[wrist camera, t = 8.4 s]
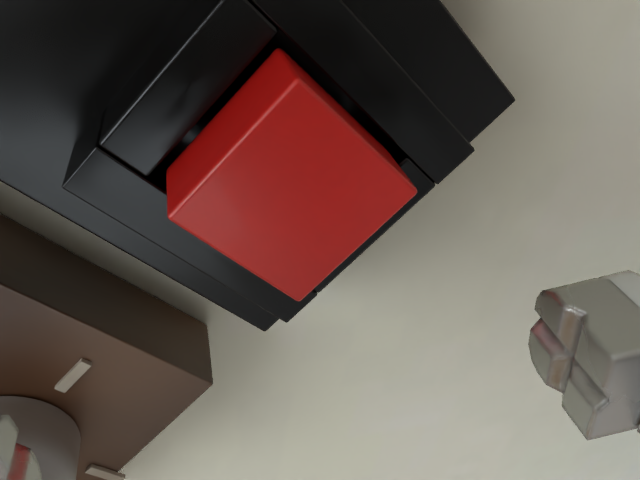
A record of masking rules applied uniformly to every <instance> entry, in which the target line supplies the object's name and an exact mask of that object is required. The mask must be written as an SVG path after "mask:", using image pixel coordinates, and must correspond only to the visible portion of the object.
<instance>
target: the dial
mask: <svg viewBox="0 0 640 480" xmlns="http://www.w3.org/2000/svg"><path fill="white" fill-rule="evenodd" d="M0 415H9V416H10V417H11V419H12V420H13V422H14V423H15V425H16V426H17V427H18V429H19V431H18V435H17V440H16V443H18V444H21V445H23V446H26V447H28V448H31V450H32V451H33V453H34V455H35V456H36V458H37V460H38V463H39V467H40V470H41V473H42V480H76V475H77V467H78V460H79V452H80V445H81V436H80V432H79V429H78V427H77V425H76V423H75V422H74V421H73V419H72V418H71V417H70V416H69V415H68V414H66V413H65V412H64V411H62V410H61V409H59V408H57V407H55V406H53V405H51V404H49V403H46V402H43V401H40V400H36V399H32V398H26V397H18V396H0Z"/></svg>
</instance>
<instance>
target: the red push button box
mask: <svg viewBox="0 0 640 480" xmlns="http://www.w3.org/2000/svg"><path fill="white" fill-rule="evenodd" d="M277 48H281V49H283V50H284V51H285V52H286V53H287V54H288V55H289V56H290V57H291V58H292V59H293V60H294V61H295V62H296V63H297V64H298V65H299V66H300V67H302V68H303V69H304V70H305V71H306V72H307V73H308V74H309V75H310V76H311V77H312V78H313V79H314V80H315V81H316V82H317V83H318V84H319V85H320V86H321V87H322V88H323V89H324V90H325V91H326V92H327V93H328V94H329V95H331V96H332V97H333V98H334V99H335V100H336V101H337V102H338V103H339V104H340V105H341V106H342V107H343V108H344V109H345V110H346V111H347V112H348V113H349V114H350V115H351V116H352V117H353V118H354V119H355V120H356V121H357V122H358V123H360V124H361V125H362V126H363V127H364V128H365V129H366V130H367V131H368V132H369V133H370V134H371V135H372V136H373V137H374V138H375V139H376V140H377V141H378V142H379V143H380V144H381V145H382V146H383V147H384V148H385V149H386V150H387V151H388V152H389V153H390V155H391V156H392V157H393V159H394V160H395V161H396V162H397V164H398V165H399V166H400V168H401V169H402V170H403V171H404V173H405V174H406V175H407V177H408V178H409V179H410V181H411V182H412V183H413V184H414V186H415V187H416V189H417V193H416V195H415V196H414V197H413V198H412V199H411V200H409V201H408V202H407V203H406V204H405V205H404V206H403V207H402V208H401V209H400V210H399V211H398V212H396V213H395V214H394V215H393V216H392V217H391V218H390V219H389V220H388V221H387V222H386V223H385V224H383V225H382V226H381V227H380V228H379V229H378V230H377V231H376V232H375V233H374V234H373V235H372V236H370V237H369V238H368V239H367V240H366V241H365V242H364V243H363V244H362V245H361V246H360V247H359V248H357V249H356V250H355V251H354V252H353V253H352V254H351V255H350V256H349V257H348V258H347V259H346V260H344V261H343V262H342V263H341V264H340V265H339V266H338V267H337V268H336V269H335V270H334V271H332V272H331V273H330V274H329V275H328V276H327V277H326V278H325V279H324V280H323V281H322V282H321V283H319V284H318V285H317V286H316V287H315V288H314V289H313V290H312V291H311V292H310V293H309V294H308V295H306V296H305V297H304V298H303V299H302V300H301V301H296V300H294V299H293V298H291V297H290V296H288V295H286V294H285V293H283V292H282V291H280V290H279V289H277V288H275V287H274V286H272V285H271V284H269V283H268V282H266V281H265V280H263V279H261V278H260V277H258V276H257V275H255V274H254V273H252V272H250V271H249V270H247V269H246V268H244V267H243V266H241V265H239V264H238V263H236V262H235V261H233V260H232V259H230V258H228V257H227V256H225V255H224V254H222V253H221V252H219V251H218V250H216V249H214V248H213V247H211V246H210V245H208V244H207V243H205V242H203V241H202V240H200V239H199V238H197V237H196V236H194V235H192V234H191V233H189V232H188V231H186V230H185V229H183V228H181V227H180V226H178V225H177V224H175V223H174V222H172V221H170V220H169V218H168V217H167V184H166V171H167V169H168V167H169V166H170V165H171V164H172V163H173V162H174V161H175V160H176V159H177V157H178V156H179V155H180V154H181V153H182V152H183V151H184V150H185V149H186V148H187V146H188V145H189V144H190V143H191V142H192V141H193V140H194V139H195V138H196V136H197V135H198V134H199V133H200V132H201V131H202V130H203V129H204V128H205V127H206V125H207V124H208V123H209V122H210V121H211V120H212V119H213V118H214V117H215V115H216V114H217V113H218V112H219V111H220V110H221V109H222V108H223V107H224V106H225V104H226V103H227V102H228V101H229V100H230V99H231V98H232V97H233V96H234V94H235V93H236V92H237V91H238V90H239V89H240V88H241V87H242V86H243V84H244V83H245V82H246V81H247V80H248V79H249V78H250V77H251V76H252V75H253V73H254V72H255V71H256V70H257V69H258V68H259V67H260V66H261V65H262V63H263V62H264V61H265V60H266V59H267V58H268V57H269V56H270V55H271V54H272V52H273V51H274V50H275V49H277ZM514 101H515V98H514V97H513V95H512V94H511V93H510V91H509V90H508V89H507V87H506V86H505V85H504V83H503V82H502V81H501V80H500V78H499V77H498V76H497V74H496V73H495V72H494V70H493V69H492V68H491V66H490V65H489V64H488V62H487V61H486V60H485V59H484V57H483V56H482V55H481V53H480V52H479V51H478V49H477V48H476V47H475V45H474V44H473V43H472V42H471V40H470V39H469V38H468V36H467V35H466V34H465V32H464V31H463V30H462V28H461V27H460V26H459V24H458V23H457V22H456V21H455V19H454V18H453V17H452V15H451V14H450V13H449V11H448V10H447V9H446V7H445V6H444V5H443V4H442V2H441V1H440V0H0V181H2V182H3V183H5V184H7V185H9V186H10V187H12V188H14V189H16V190H17V191H19V192H21V193H23V194H24V195H26V196H28V197H30V198H31V199H33V200H35V201H37V202H38V203H40V204H42V205H44V206H46V207H47V208H49V209H51V210H53V211H54V212H56V213H58V214H60V215H61V216H63V217H65V218H67V219H68V220H70V221H72V222H74V223H75V224H77V225H79V226H81V227H82V228H84V229H86V230H88V231H89V232H91V233H93V234H95V235H96V236H98V237H100V238H102V239H103V240H105V241H107V242H109V243H110V244H112V245H114V246H116V247H117V248H119V249H121V250H123V251H124V252H126V253H128V254H130V255H131V256H133V257H135V258H137V259H138V260H140V261H142V262H144V263H145V264H147V265H149V266H151V267H152V268H154V269H156V270H158V271H159V272H161V273H163V274H165V275H166V276H168V277H170V278H172V279H173V280H175V281H177V282H179V283H180V284H182V285H184V286H186V287H187V288H189V289H191V290H193V291H194V292H196V293H198V294H200V295H201V296H203V297H205V298H207V299H208V300H210V301H212V302H214V303H215V304H217V305H219V306H221V307H222V308H224V309H226V310H228V311H229V312H231V313H233V314H235V315H236V316H238V317H240V318H242V319H243V320H245V321H247V322H249V323H250V324H252V325H254V326H256V327H257V328H259V329H261V330H263V331H266V330H268V329H269V328H270V327H271V326H272V325H273V324H274V323H275V322H276V321H277V320H278V319H279V318H280V319H281V320H283V321H285V322H288V321H289V320H290V319H291V318H293V317H294V316H295V315H296V314H297V313H298V312H299V311H300V310H301V309H302V308H303V307H305V306H306V305H307V304H308V303H309V302H310V301H311V300H312V299H313V298H314V297H315V296H317V292H320V291H321V290H322V289H323V288H325V287H326V286H327V285H328V284H329V283H330V282H331V281H332V280H333V279H334V278H335V277H337V276H338V275H339V274H340V273H341V272H342V271H343V270H344V269H345V268H346V267H347V266H349V265H350V264H351V263H352V262H353V261H354V260H355V259H356V258H357V257H358V256H359V255H361V254H362V253H363V252H364V251H365V250H366V249H367V248H368V247H369V246H370V245H371V244H373V243H374V242H375V241H376V240H377V239H378V238H379V237H380V236H381V235H382V234H383V233H385V232H386V231H387V230H388V229H389V228H390V227H391V226H392V225H393V224H394V223H395V222H397V221H398V220H399V219H400V218H401V217H402V216H403V215H404V214H405V213H406V212H407V211H409V210H410V209H411V208H412V207H413V206H414V205H415V204H416V203H417V202H418V201H419V200H420V199H422V198H423V197H424V196H425V195H426V194H427V193H428V192H429V191H430V190H431V189H432V188H434V186H435V183H436V184H439V183H440V182H441V181H442V180H443V179H444V178H445V177H446V176H447V175H449V174H450V173H451V172H452V171H453V170H454V169H455V168H456V167H457V166H458V165H459V164H461V163H462V162H463V161H464V160H465V159H466V158H467V157H468V156H469V155H470V154H471V153H473V152H474V148H473V147H472V146H471V144H470V142H471V141H472V140H473V139H474V138H475V137H476V136H478V135H479V134H480V133H481V132H482V131H483V130H484V129H485V128H486V127H487V126H488V125H489V124H491V123H492V122H493V121H494V120H495V119H496V118H497V117H498V116H499V115H500V114H501V113H502V112H504V111H505V110H506V109H507V108H508V107H509V106H510V105H511V104H512V103H513V102H514ZM434 182H435V183H434Z"/></svg>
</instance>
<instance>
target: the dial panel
mask: <svg viewBox="0 0 640 480" xmlns="http://www.w3.org/2000/svg"><path fill="white" fill-rule="evenodd" d="M212 384H213V378H212V369H211V359H210V349H209V340H208V330H207V325H206V324H204V323H202V322H200V321H198V320H196V319H195V318H193V317H191V316H189V315H187V314H185V313H183V312H182V311H180V310H178V309H176V308H174V307H172V306H170V305H169V304H167V303H165V302H163V301H161V300H159V299H157V298H156V297H154V296H152V295H150V294H148V293H146V292H144V291H143V290H141V289H139V288H137V287H135V286H133V285H131V284H130V283H128V282H126V281H124V280H122V279H120V278H118V277H117V276H115V275H113V274H111V273H109V272H107V271H105V270H104V269H102V268H100V267H98V266H96V265H94V264H92V263H91V262H89V261H87V260H85V259H83V258H81V257H79V256H78V255H76V254H74V253H72V252H70V251H68V250H66V249H65V248H63V247H61V246H59V245H57V244H55V243H53V242H52V241H50V240H48V239H46V238H44V237H42V236H40V235H39V234H37V233H35V232H33V231H31V230H29V229H27V228H26V227H24V226H22V225H20V224H18V223H16V222H14V221H13V220H11V219H9V218H7V217H5V216H3V215H1V214H0V396H18V397H26V398H32V399H36V400H40V401H43V402H46V403H49V404H51V405H53V406H55V407H57V408H59V409H61V410H62V411H64V412H65V413H66V414H68V415H69V416H70V417H71V418H72V419H73V421H74V422H75V423H76V425H77V427H78V429H79V432H80V436H81V445H80V452H79V460H78V467H77V475H76V480H124V479H125V474H122V473H119V472H118V471H119V470H120V469H121V468H122V467H123V466H124V465H126V464H127V463H128V462H129V461H130V460H131V459H132V458H133V457H134V456H135V455H136V454H137V453H139V452H140V451H141V450H142V449H143V448H144V447H145V446H146V445H147V444H148V443H149V442H151V441H152V440H153V439H154V438H155V437H156V436H157V435H158V434H159V433H160V432H161V431H162V430H164V429H165V428H166V427H167V426H168V425H169V424H170V423H171V422H172V421H173V420H174V419H175V418H177V417H178V416H179V415H180V414H181V413H182V412H183V411H184V410H185V409H186V408H187V407H189V406H190V405H191V404H192V403H193V402H194V401H195V400H196V399H197V398H198V397H199V396H200V395H202V394H203V393H204V392H205V391H206V390H207V389H208V388H209V387H210V386H211V385H212Z"/></svg>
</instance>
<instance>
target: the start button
mask: <svg viewBox="0 0 640 480" xmlns="http://www.w3.org/2000/svg"><path fill="white" fill-rule="evenodd" d="M166 184H167V217H168V218H169V220H170V221H172V222H174V223H175V224H177V225H178V226H180V227H181V228H183V229H185V230H186V231H188V232H189V233H191V234H192V235H194V236H196V237H197V238H199V239H200V240H202V241H203V242H205V243H207V244H208V245H210V246H211V247H213V248H214V249H216V250H218V251H219V252H221V253H222V254H224V255H225V256H227V257H228V258H230V259H232V260H233V261H235V262H236V263H238V264H239V265H241V266H243V267H244V268H246V269H247V270H249V271H250V272H252V273H254V274H255V275H257V276H258V277H260V278H261V279H263V280H265V281H266V282H268V283H269V284H271V285H272V286H274V287H275V288H277V289H279V290H280V291H282V292H283V293H285V294H286V295H288V296H290V297H291V298H293V299H294V300H296V301H301V300H302V299H303V298H304V297H305V296H306V295H308V294H309V293H310V292H311V291H312V290H313V289H314V288H315V287H316V286H317V285H318V284H319V283H321V282H322V281H323V280H324V279H325V278H326V277H327V276H328V275H329V274H330V273H331V272H332V271H334V270H335V269H336V268H337V267H338V266H339V265H340V264H341V263H342V262H343V261H344V260H346V259H347V258H348V257H349V256H350V255H351V254H352V253H353V252H354V251H355V250H356V249H357V248H359V247H360V246H361V245H362V244H363V243H364V242H365V241H366V240H367V239H368V238H369V237H370V236H372V235H373V234H374V233H375V232H376V231H377V230H378V229H379V228H380V227H381V226H382V225H383V224H385V223H386V222H387V221H388V220H389V219H390V218H391V217H392V216H393V215H394V214H395V213H396V212H398V211H399V210H400V209H401V208H402V207H403V206H404V205H405V204H406V203H407V202H408V201H409V200H411V199H412V198H413V197H414V196H415V195H416V193H417V189H416V187H415V186H414V184H413V183H412V182H411V181H410V179H409V178H408V177H407V175H406V174H405V173H404V171H403V170H402V169H401V168H400V166H399V165H398V164H397V162H396V161H395V160H394V159H393V157H392V156H391V155H390V153H389V152H388V151H387V150H386V149H385V148H384V147H383V146H382V145H381V144H380V143H379V142H378V141H377V140H376V139H375V138H374V137H373V136H372V135H371V134H370V133H369V132H368V131H367V130H366V129H365V128H364V127H363V126H362V125H361V124H360V123H358V122H357V121H356V120H355V119H354V118H353V117H352V116H351V115H350V114H349V113H348V112H347V111H346V110H345V109H344V108H343V107H342V106H341V105H340V104H339V103H338V102H337V101H336V100H335V99H334V98H333V97H332V96H331V95H329V94H328V93H327V92H326V91H325V90H324V89H323V88H322V87H321V86H320V85H319V84H318V83H317V82H316V81H315V80H314V79H313V78H312V77H311V76H310V75H309V74H308V73H307V72H306V71H305V70H304V69H303V68H302V67H300V66H299V65H298V64H297V63H296V62H295V61H294V60H293V59H292V58H291V57H290V56H289V55H288V54H287V53H286V52H285V51H284V50H283V49H281V48H277V49H275V50H274V51H273V52H272V54H271V55H270V56H269V57H268V58H267V59H266V60H265V61H264V62H263V63H262V65H261V66H260V67H259V68H258V69H257V70H256V71H255V72H254V73H253V75H252V76H251V77H250V78H249V79H248V80H247V81H246V82H245V83H244V84H243V86H242V87H241V88H240V89H239V90H238V91H237V92H236V93H235V94H234V96H233V97H232V98H231V99H230V100H229V101H228V102H227V103H226V104H225V106H224V107H223V108H222V109H221V110H220V111H219V112H218V113H217V114H216V115H215V117H214V118H213V119H212V120H211V121H210V122H209V123H208V124H207V125H206V127H205V128H204V129H203V130H202V131H201V132H200V133H199V134H198V135H197V136H196V138H195V139H194V140H193V141H192V142H191V143H190V144H189V145H188V146H187V148H186V149H185V150H184V151H183V152H182V153H181V154H180V155H179V156H178V157H177V159H176V160H175V161H174V162H173V163H172V164H171V165H170V166H169V167H168V169H167V171H166Z"/></svg>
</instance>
